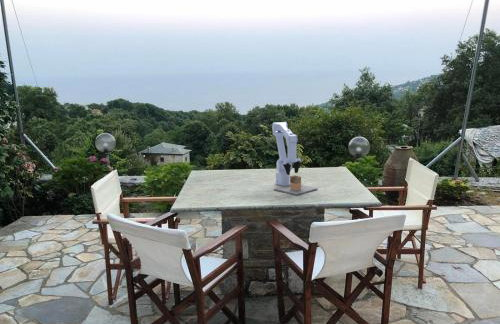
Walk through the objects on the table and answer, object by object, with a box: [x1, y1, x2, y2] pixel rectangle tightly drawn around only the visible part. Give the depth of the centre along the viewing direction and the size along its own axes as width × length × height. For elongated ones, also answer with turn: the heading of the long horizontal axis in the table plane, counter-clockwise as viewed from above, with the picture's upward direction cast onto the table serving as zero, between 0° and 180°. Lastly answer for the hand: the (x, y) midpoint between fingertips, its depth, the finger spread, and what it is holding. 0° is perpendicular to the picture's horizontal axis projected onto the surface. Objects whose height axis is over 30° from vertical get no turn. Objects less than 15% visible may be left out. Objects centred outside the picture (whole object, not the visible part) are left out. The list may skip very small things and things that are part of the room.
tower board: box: [273, 184, 318, 196], centre depth 257 cm, size 20×20×1 cm
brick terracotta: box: [290, 182, 302, 190], centre depth 256 cm, size 6×4×4 cm, turn 41°
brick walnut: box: [290, 175, 302, 184], centre depth 255 cm, size 6×4×4 cm, turn 41°
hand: (292, 173), depth 257 cm, fingers open, 7 cm apart
